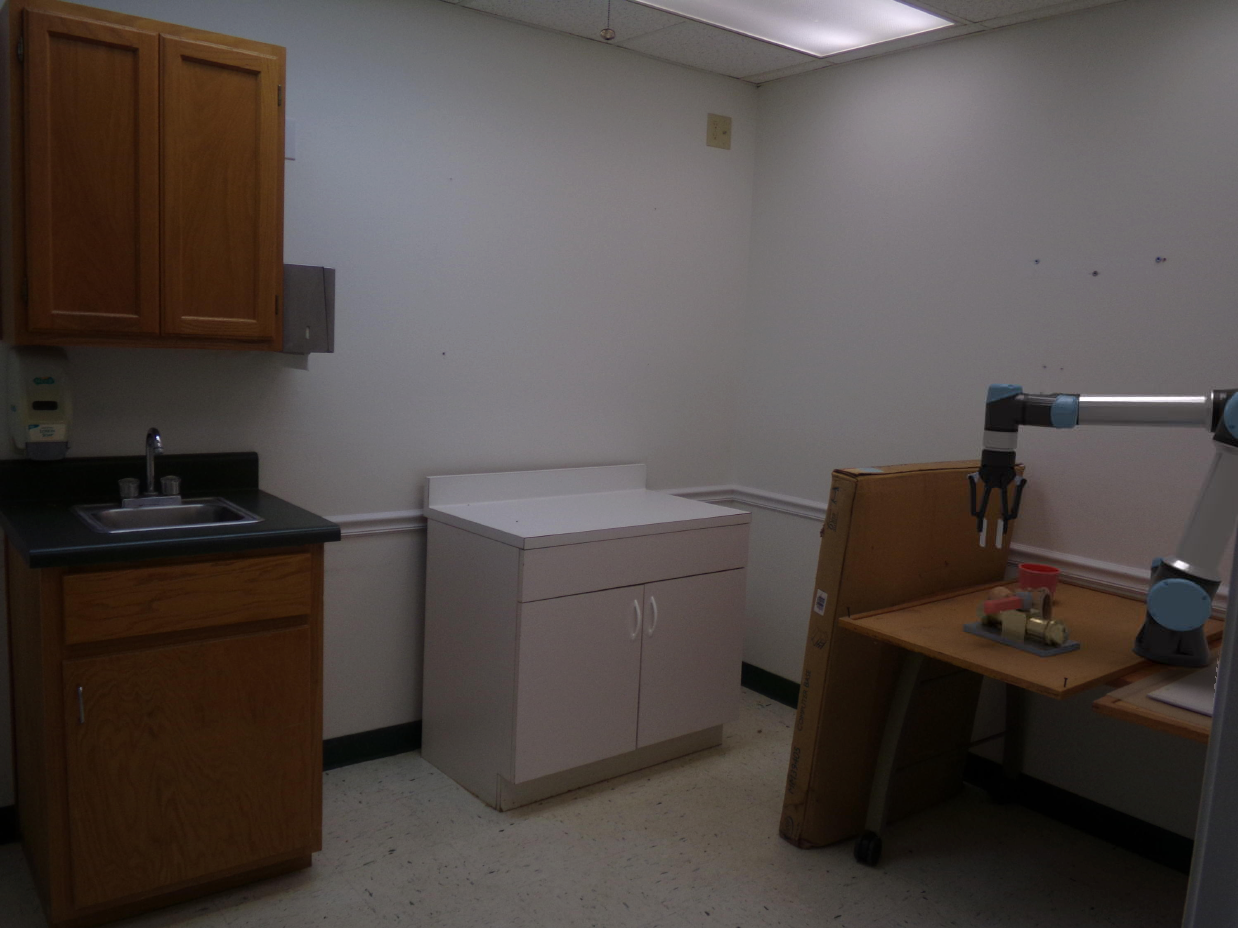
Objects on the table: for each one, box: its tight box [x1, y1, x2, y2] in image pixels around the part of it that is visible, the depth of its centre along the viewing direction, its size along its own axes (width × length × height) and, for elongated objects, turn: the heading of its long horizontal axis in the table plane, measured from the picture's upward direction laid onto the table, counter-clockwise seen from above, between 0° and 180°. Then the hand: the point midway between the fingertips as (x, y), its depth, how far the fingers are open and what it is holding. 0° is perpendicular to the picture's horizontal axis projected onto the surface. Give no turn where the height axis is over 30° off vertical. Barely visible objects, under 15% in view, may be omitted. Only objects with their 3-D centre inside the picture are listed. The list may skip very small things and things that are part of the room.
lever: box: [983, 591, 1032, 614], centre depth 215 cm, size 4×16×4 cm, turn 122°
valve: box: [962, 600, 1081, 658], centre depth 220 cm, size 22×14×8 cm, turn 32°
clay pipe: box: [987, 586, 1054, 621], centre depth 235 cm, size 19×11×15 cm
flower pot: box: [1018, 563, 1061, 600], centre depth 256 cm, size 11×11×10 cm
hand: (990, 546), depth 218 cm, fingers open, 3 cm apart
